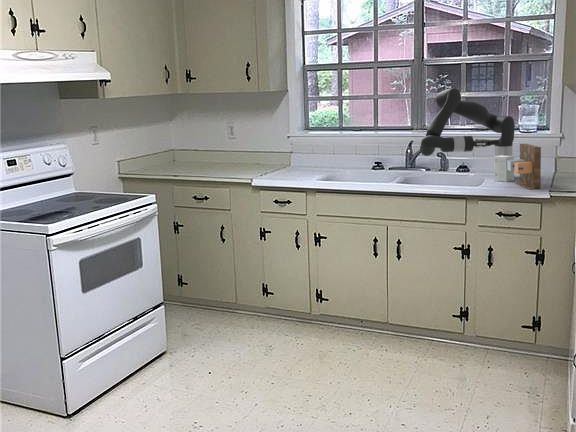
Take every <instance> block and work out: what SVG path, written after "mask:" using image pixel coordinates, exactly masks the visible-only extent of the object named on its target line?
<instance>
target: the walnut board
mask: <svg viewBox="0 0 576 432" xmlns="http://www.w3.org/2000/svg"><path fill="white" fill-rule="evenodd" d="M541 157H542V147H541V146H538V145H532V144H529V143H520V144H519V159H524V160H525V162H530V161H531V162H533V173H524V174H519V181H514V184H516V185H517V186H521V187H523V188H525V189H527V190H540V189H541V175H542V174H541V173H542V171H541V170H542V167H541V165H542V158H541Z"/></svg>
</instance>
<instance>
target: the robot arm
mask: <svg viewBox="0 0 576 432" xmlns="http://www.w3.org/2000/svg"><path fill="white" fill-rule="evenodd" d="M435 102H436V104H437V106H438V107H439V108H440V110H439V112H437V114H436V115H434V117H433V118H432V120H431V121H430V123H429V125H428V128H427V129H426V133H425V136H424V137H423V138H422V139H421V142H420V145H419V146H420V148H419V152H420V153H421V154H422V155H423V156H425V157H427V156H428V157H429V156H432V154H434V152H435V151H436V148H437V149H440V151H441V152H442V153H463V152H464V153H465V152H466V153H467V152H472V151H474V147H475V148H478V149H479V148H485V147H486V148H487V147H490V146H494V156H501V155H504V156H513V143H514V140H515V129H516V128H515V120H514V118H513V116H510V115H495V114H494V113H493V114H492V113H490V112H489V111H488V109H487V108H486V106H484V105H483V104H480V103H478V102H476V101H469V100H462V95H461V92H460V90H459V89H458V88H456V87H451V88H448V89H445V90H442V91H440V92H439V93H437V94H436V97H435ZM453 113H454V114H456V115H459V116H461V117H464V118H466V119H467V120H469V121H472V122H474V123H476V124H479V125H482V126H485V127H486V128H488V129H489V130H491V131H492V132H493V133H497V134H500V138H498V139H491V140H490V139H484V138H482V139H481V138H475V139H474V137H473V136H472V135H462V136H461V135H460V136H452V137H451V136H450V137H449V136H448V137H442V133H443V132H444V131H443V130H444V128H445V126H446V124H447V123H448V121H449V119H450V118H451V116H452V115H453Z"/></svg>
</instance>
